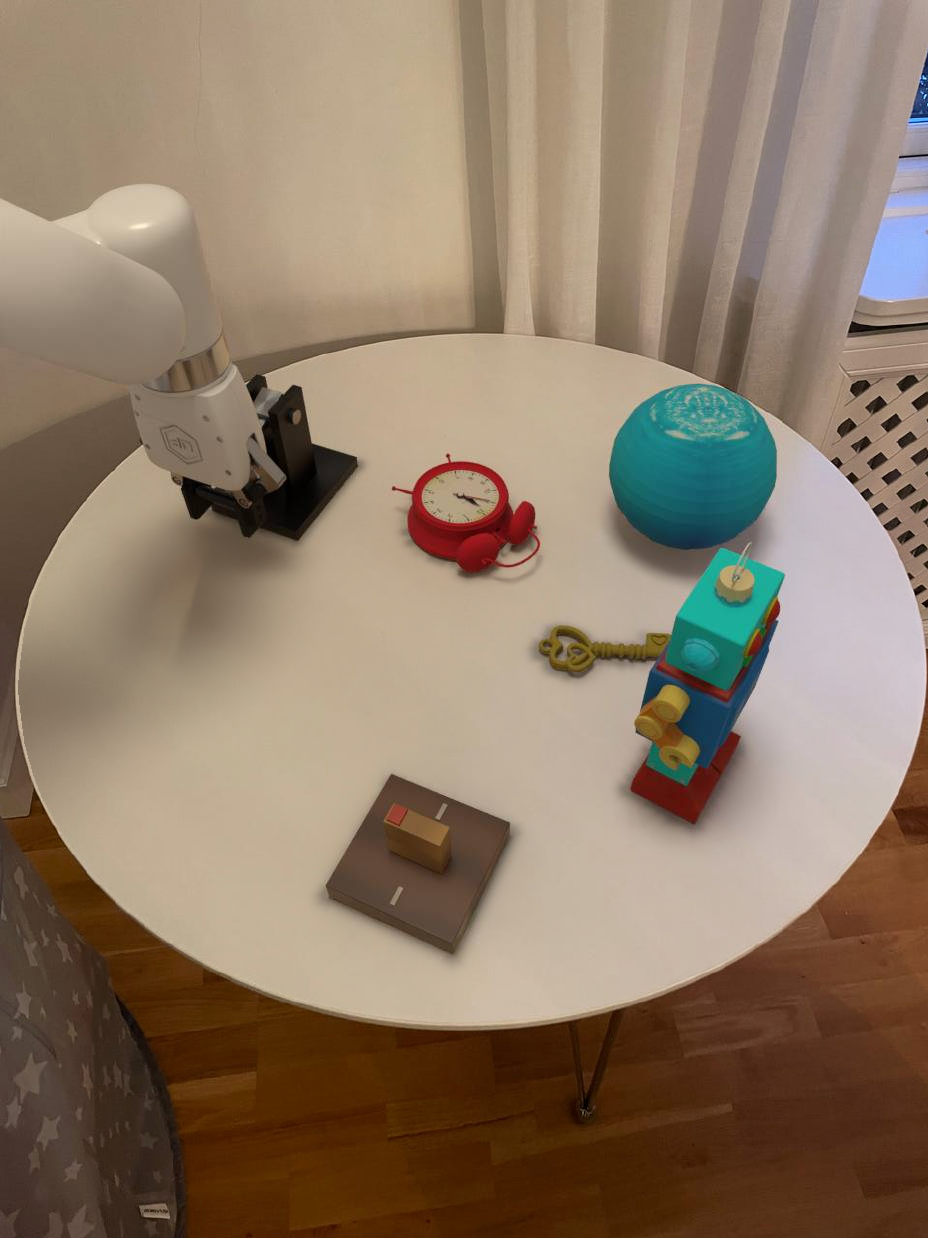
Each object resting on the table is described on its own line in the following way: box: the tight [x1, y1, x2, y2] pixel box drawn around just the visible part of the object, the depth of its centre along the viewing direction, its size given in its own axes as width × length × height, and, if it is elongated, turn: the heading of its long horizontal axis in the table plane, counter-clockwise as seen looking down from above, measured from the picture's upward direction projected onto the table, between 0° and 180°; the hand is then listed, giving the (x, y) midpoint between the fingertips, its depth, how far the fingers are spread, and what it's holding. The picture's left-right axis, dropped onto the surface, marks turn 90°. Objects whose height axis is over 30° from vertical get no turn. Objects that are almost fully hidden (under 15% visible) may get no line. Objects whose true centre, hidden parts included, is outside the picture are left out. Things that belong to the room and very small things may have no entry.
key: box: [538, 625, 671, 673], centre depth 81 cm, size 12×1×5 cm
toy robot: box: [629, 542, 786, 825], centre depth 64 cm, size 12×6×25 cm, turn 147°
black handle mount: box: [210, 373, 359, 541], centre depth 91 cm, size 12×10×12 cm
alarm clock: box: [391, 453, 541, 573], centre depth 89 cm, size 10×6×15 cm
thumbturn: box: [383, 803, 451, 874], centre depth 66 cm, size 4×2×5 cm, turn 64°
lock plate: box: [325, 773, 511, 955], centre depth 68 cm, size 10×10×2 cm
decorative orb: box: [608, 383, 778, 551], centre depth 85 cm, size 15×15×15 cm
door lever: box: [193, 387, 284, 509], centre depth 86 cm, size 12×5×2 cm, turn 155°
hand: (228, 517), depth 87 cm, fingers closed on door lever, 5 cm apart
